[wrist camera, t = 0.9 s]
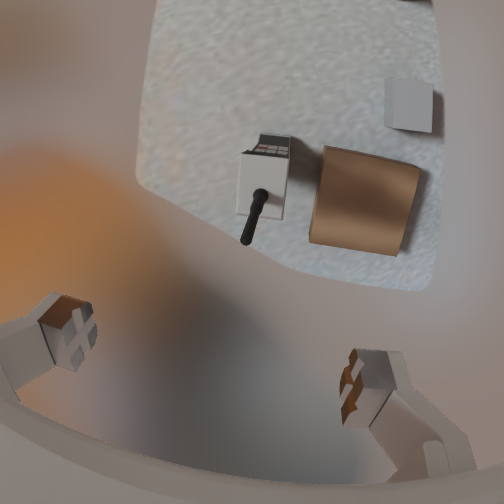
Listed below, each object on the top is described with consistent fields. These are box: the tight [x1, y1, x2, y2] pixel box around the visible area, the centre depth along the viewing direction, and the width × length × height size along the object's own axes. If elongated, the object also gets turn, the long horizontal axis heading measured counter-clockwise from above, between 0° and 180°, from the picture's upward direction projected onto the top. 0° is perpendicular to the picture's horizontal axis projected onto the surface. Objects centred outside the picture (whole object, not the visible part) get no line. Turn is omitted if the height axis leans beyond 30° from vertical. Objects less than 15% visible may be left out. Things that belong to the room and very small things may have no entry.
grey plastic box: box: [384, 77, 433, 133], centre depth 32 cm, size 6×5×4 cm
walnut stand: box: [309, 145, 421, 257], centre depth 39 cm, size 12×12×3 cm
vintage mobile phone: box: [236, 133, 291, 246], centre depth 28 cm, size 4×5×25 cm
